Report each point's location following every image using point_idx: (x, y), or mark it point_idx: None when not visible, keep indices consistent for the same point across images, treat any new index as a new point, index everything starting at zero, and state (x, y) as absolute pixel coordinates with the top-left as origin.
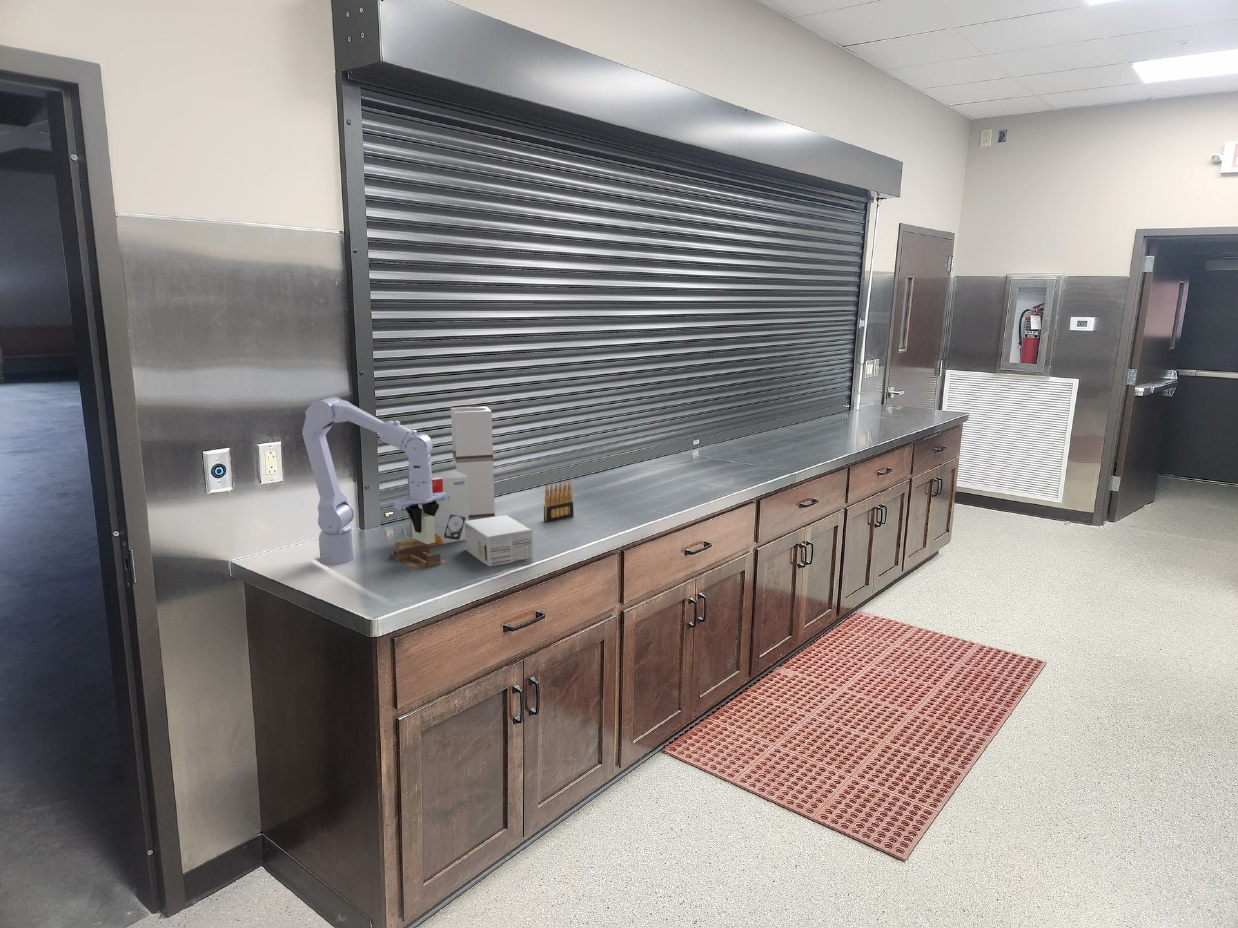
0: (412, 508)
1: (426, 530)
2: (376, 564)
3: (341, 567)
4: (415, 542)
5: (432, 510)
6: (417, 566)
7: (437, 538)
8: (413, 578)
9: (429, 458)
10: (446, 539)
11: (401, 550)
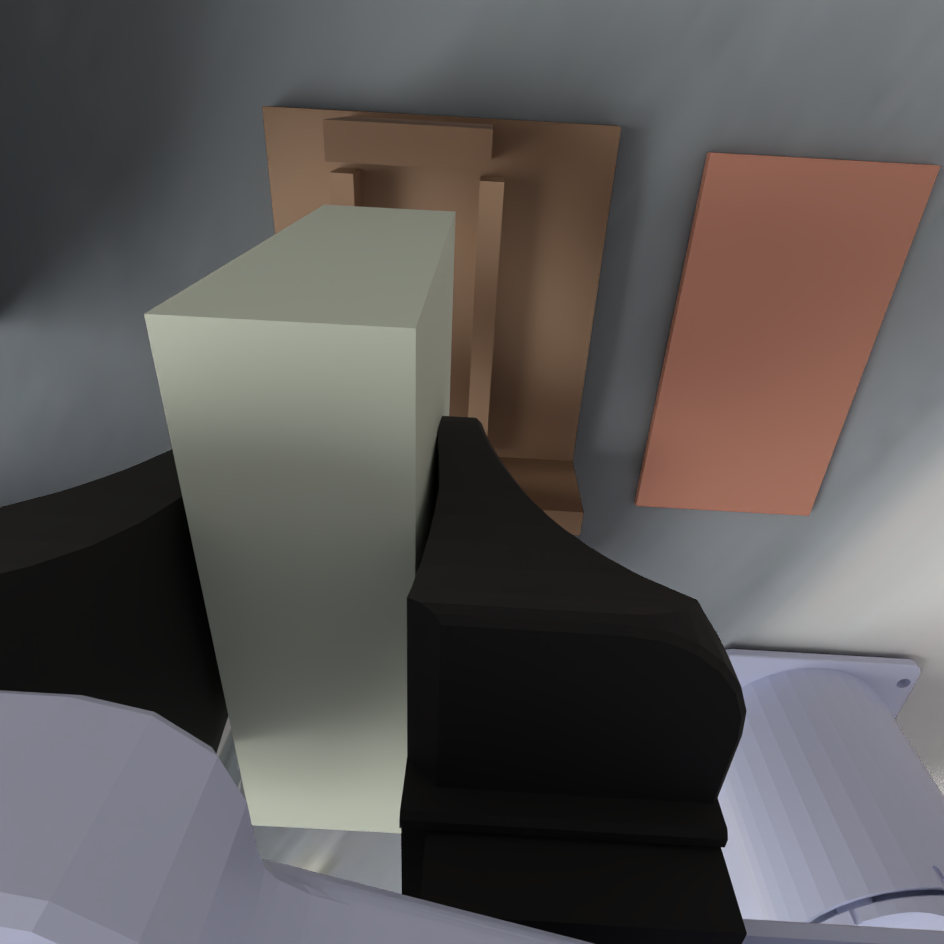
0: (653, 807)
1: (440, 255)
2: (677, 556)
3: (851, 648)
4: None
5: (49, 540)
6: (551, 238)
7: None
8: (747, 9)
9: None
10: None
11: (556, 509)
